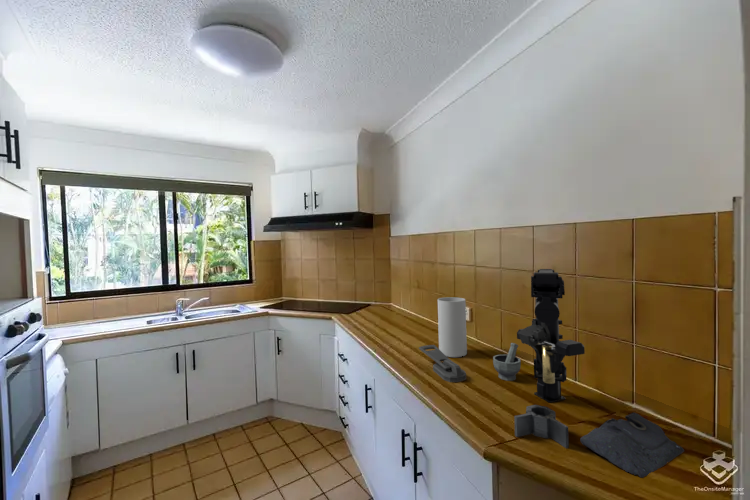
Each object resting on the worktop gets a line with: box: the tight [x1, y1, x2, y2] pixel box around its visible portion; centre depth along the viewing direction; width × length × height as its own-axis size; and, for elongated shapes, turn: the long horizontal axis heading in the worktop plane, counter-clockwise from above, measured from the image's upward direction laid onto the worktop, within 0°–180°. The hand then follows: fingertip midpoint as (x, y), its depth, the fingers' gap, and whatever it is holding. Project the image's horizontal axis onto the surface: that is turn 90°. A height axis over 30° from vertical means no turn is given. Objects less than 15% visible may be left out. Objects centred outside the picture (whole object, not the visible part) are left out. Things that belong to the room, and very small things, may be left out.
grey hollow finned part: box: [513, 404, 570, 449], centre depth 82 cm, size 11×11×5 cm
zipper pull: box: [418, 344, 467, 383], centre depth 128 cm, size 9×7×25 cm
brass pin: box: [542, 345, 555, 384], centre depth 91 cm, size 3×3×10 cm
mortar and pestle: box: [492, 342, 522, 382], centre depth 120 cm, size 11×9×12 cm
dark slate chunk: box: [580, 412, 685, 478], centre depth 77 cm, size 15×22×5 cm
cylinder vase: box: [437, 296, 468, 358], centre depth 148 cm, size 12×12×25 cm
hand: (548, 370), depth 91 cm, fingers closed on brass pin, 3 cm apart
